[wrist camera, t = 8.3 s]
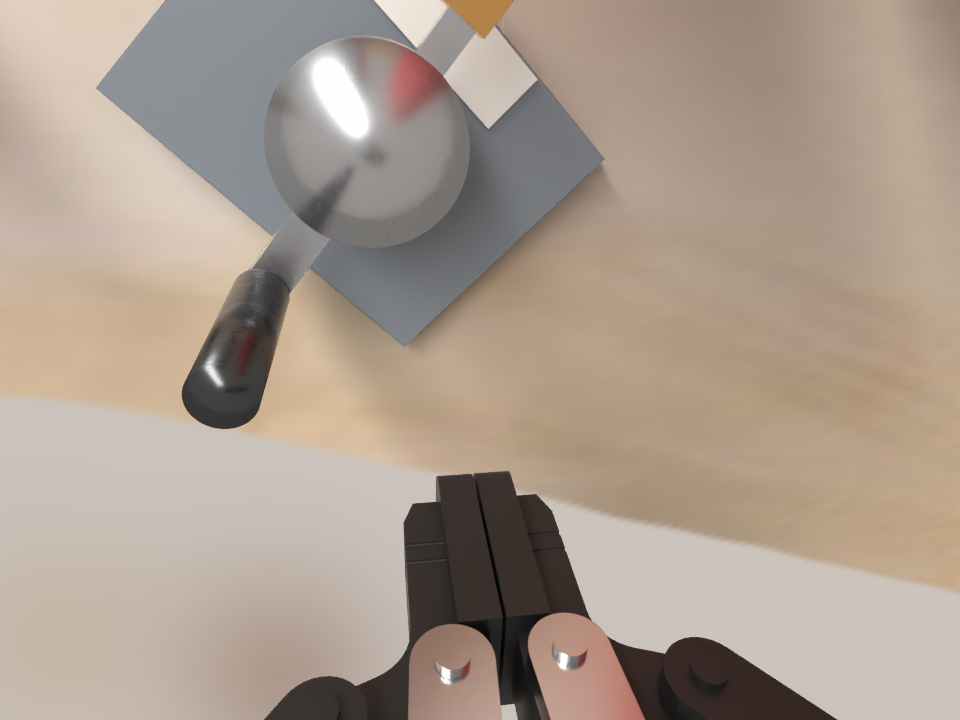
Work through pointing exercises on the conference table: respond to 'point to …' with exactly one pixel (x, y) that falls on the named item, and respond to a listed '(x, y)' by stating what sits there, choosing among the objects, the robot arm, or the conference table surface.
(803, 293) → the conference table surface
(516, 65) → the stand
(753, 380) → the conference table surface
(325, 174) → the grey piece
